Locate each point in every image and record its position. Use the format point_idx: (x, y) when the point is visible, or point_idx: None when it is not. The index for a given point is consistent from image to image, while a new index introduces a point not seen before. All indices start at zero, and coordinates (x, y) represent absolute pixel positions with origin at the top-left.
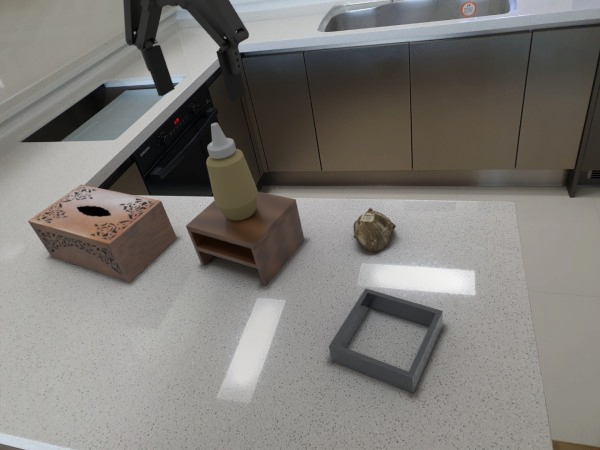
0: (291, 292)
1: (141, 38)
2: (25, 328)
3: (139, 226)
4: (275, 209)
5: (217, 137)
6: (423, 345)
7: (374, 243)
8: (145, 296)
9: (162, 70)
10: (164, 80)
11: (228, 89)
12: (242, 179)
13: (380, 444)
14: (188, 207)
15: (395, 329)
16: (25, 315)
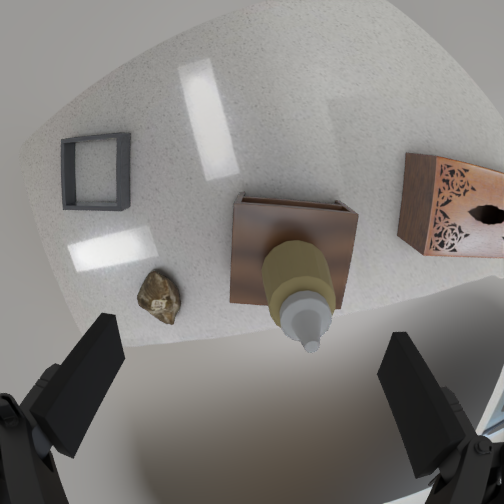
0: (206, 192)
1: (470, 478)
2: (455, 78)
3: (427, 205)
4: (245, 277)
5: (303, 324)
6: (62, 170)
7: (149, 278)
8: (373, 137)
9: (404, 405)
10: (396, 379)
11: (93, 332)
12: (267, 282)
13: (79, 94)
14: (410, 288)
15: (99, 187)
16: (468, 93)
